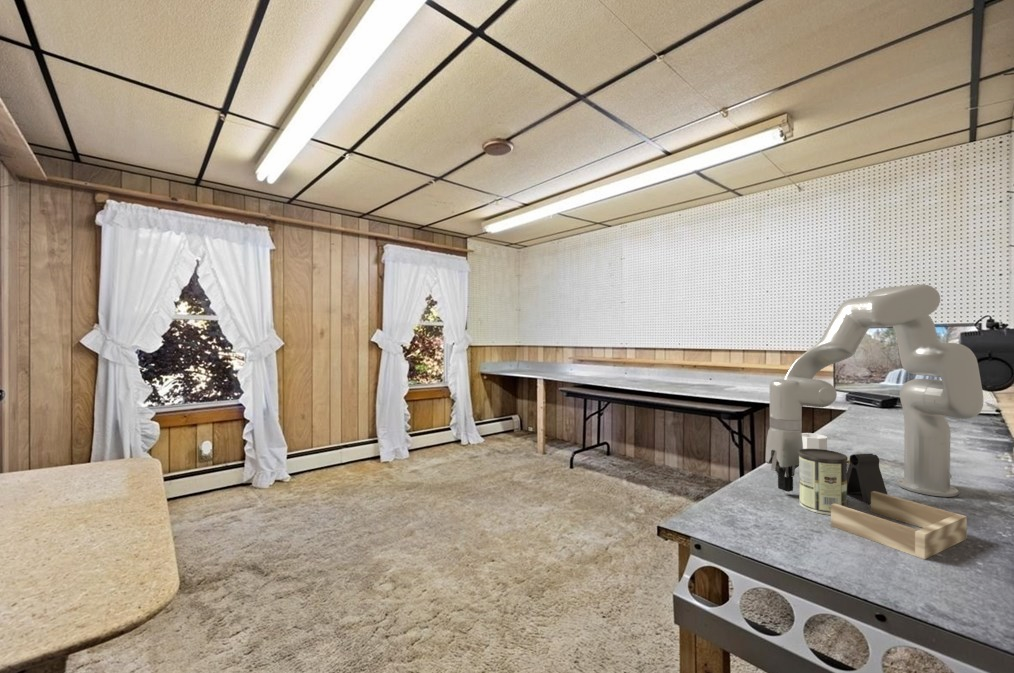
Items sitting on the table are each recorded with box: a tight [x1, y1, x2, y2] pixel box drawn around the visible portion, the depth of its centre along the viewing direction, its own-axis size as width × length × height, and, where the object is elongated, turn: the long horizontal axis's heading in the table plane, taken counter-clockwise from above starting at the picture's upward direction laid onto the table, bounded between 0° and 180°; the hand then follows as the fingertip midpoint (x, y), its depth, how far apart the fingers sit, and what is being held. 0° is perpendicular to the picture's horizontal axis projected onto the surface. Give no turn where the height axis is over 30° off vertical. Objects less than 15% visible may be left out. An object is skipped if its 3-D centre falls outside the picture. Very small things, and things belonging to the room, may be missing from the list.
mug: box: [801, 432, 828, 450], centre depth 150 cm, size 12×9×10 cm
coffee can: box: [798, 449, 848, 516], centre depth 113 cm, size 10×10×14 cm
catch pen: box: [830, 491, 968, 560], centre depth 99 cm, size 19×17×5 cm
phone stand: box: [847, 453, 889, 506], centre depth 119 cm, size 9×6×12 cm, turn 5°
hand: (785, 489), depth 122 cm, fingers closed
